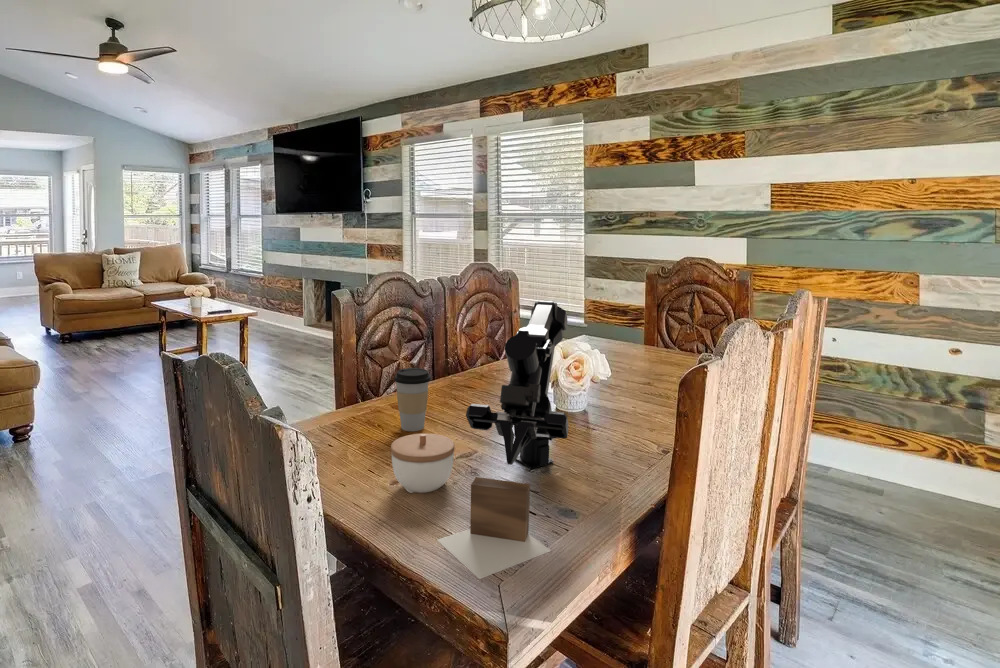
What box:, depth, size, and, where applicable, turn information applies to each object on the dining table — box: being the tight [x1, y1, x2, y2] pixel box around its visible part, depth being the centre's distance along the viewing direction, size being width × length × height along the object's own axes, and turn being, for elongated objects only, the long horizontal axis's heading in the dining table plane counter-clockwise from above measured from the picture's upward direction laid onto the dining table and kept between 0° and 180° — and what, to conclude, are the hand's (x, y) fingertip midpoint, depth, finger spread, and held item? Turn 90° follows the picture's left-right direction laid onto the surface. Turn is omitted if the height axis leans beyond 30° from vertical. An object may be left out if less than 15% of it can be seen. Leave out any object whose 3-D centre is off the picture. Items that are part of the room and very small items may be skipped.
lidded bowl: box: [390, 433, 456, 494], centre depth 117 cm, size 13×13×11 cm
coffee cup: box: [393, 367, 432, 432], centre depth 150 cm, size 9×9×15 cm
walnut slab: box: [469, 476, 531, 542], centre depth 99 cm, size 3×10×9 cm, turn 76°
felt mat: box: [436, 528, 552, 580], centre depth 96 cm, size 13×14×1 cm
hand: (509, 463), depth 104 cm, fingers closed
